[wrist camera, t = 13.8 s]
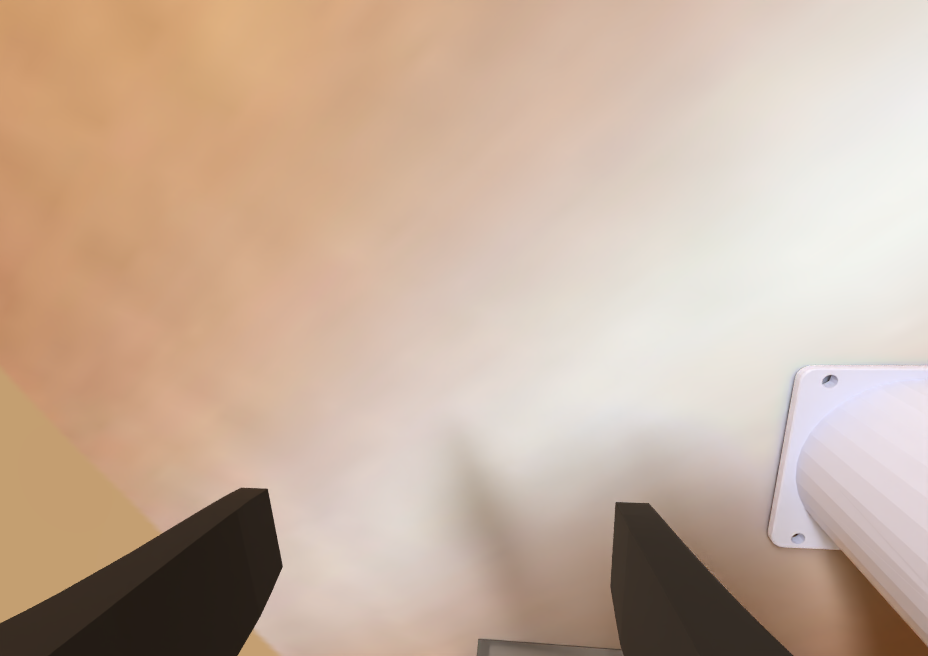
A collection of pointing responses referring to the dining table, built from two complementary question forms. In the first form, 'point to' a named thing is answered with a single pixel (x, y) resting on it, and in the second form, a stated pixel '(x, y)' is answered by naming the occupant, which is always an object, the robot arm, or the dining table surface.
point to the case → (538, 649)
